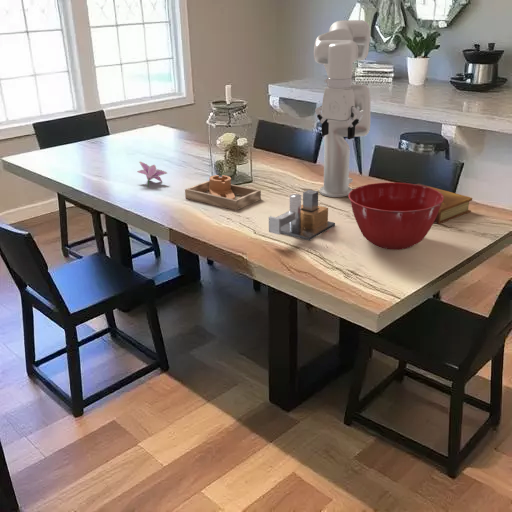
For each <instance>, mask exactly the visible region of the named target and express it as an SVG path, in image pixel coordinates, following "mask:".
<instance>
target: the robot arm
mask: <svg viewBox="0 0 512 512" xmlns="http://www.w3.org/2000/svg"><path fill="white" fill-rule="evenodd" d="M370 40H371V30H370V25H369V23H368V22H367V21H365V20H364V19H362V20H361V19H350V20H348V19H346V20H337V21H334V22H333V23H332V24H331V26H330V27H329V30H328V32H325V33H322V34H319V35H318V36H317V37H316V39H315V40H314V47H313V58H314V62H315V63H317V64H319V65H323V67H324V69H325V72H326V74H327V78H325V79H324V84H326V85H327V86H326V87H324V91H323V94H322V95H323V97H322V103H321V104H322V105H321V106H319V107H317V108H315V109H314V111H315V114H316V117H317V119H318V120H319V123H320V124H321V131H320V132H321V136H322V137H323V139H324V142H323V143H324V149H323V152H324V153H323V156H324V157H323V160H324V161H323V186H321V187H320V188H319V194H320V195H322V196H325V197H330V198H342V197H343V198H344V197H347V196H348V197H349V193H350V192H351V191H352V190H353V189H352V188H351V187H349V185H350V184H351V183H352V182H353V181H354V180H353V178H352V177H350V176H349V175H350V155H351V153H350V152H351V151H350V150H351V149H350V145H349V143H348V142H347V141H346V140H345V138H344V137H347V140H352V139H354V138H355V137H366V136H368V134H369V133H370V131H371V130H370V129H371V92H370V88H369V87H368V86H367V85H366V84H358V83H357V84H353V83H352V75H353V74H352V73H353V63H355V62H356V61H358V62H359V61H364V60H366V59H367V57H368V54H369V50H370Z"/></svg>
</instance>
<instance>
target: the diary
mask: <svg viewBox="0 0 512 512" xmlns="http://www.w3.org/2000/svg"><path fill="white" fill-rule="evenodd" d="M416 185H421V186H425V187H429V188H432V189H435V190H437V191H438V192H440V193H441V194H442V195H443V197H444V200H443V202H442V203H441V206H440V209H439V212H438V214H437V217H436V219H435V221H434V223H433V224H437V225H441V224H443V223H446V222H448V221H451V220H453V219H455V218H457V217H461V216H463V215H466V214H468V213H471V212H472V210H470V209H469V205H470V202H472V201H473V197H472V196H471V197H470V196H466V195H463V194H459V193H456V192H451V191H448V190H443V189H441V188H436V187H433V186H430V185H426V184H422V183H416Z"/></svg>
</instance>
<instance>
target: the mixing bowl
mask: <svg viewBox="0 0 512 512" xmlns="http://www.w3.org/2000/svg"><path fill="white" fill-rule="evenodd" d="M416 184H417V183H416ZM416 184H413V183H408V182H407V183H406V182H377V183H370V184H365V185H361V186H357V187H356V188H354V189H352V191H351V192H350V193H349V195H348V200H350V205H351V210H352V212H353V216H354V218H355V221H356V224H357V226H358V229H359V231H360V232H361V235H363V237H364V239H366V240H367V241H368V242H369V243H370V244H372V245H374V246H375V247H377V248H380V249H383V250H392V251H400V250H407V249H410V248H413V247H414V246H416V245H418V244H419V243H420V242H421V241H423V240H424V238H425V237H426V236H427V234H428V233H429V231H430V230H431V228H432V226H433V225H434V224H435V223H434V221H435V219H436V217H437V214H438V212H439V209H440V206H441V203H442V202H443V200H444V197H443V195H442V194H441V193H440V192H438V191H437V190H435V189H432V188H429V187H425V186H421V185H416Z"/></svg>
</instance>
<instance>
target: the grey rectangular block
mask: <svg viewBox="0 0 512 512" xmlns="http://www.w3.org/2000/svg"><path fill="white" fill-rule="evenodd" d="M302 205H303V211H307V212H311V213H312V212H314V211H316V210H318V206H319V190H318V191H317V190H313V189H307V190H305V191H303V193H302Z"/></svg>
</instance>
